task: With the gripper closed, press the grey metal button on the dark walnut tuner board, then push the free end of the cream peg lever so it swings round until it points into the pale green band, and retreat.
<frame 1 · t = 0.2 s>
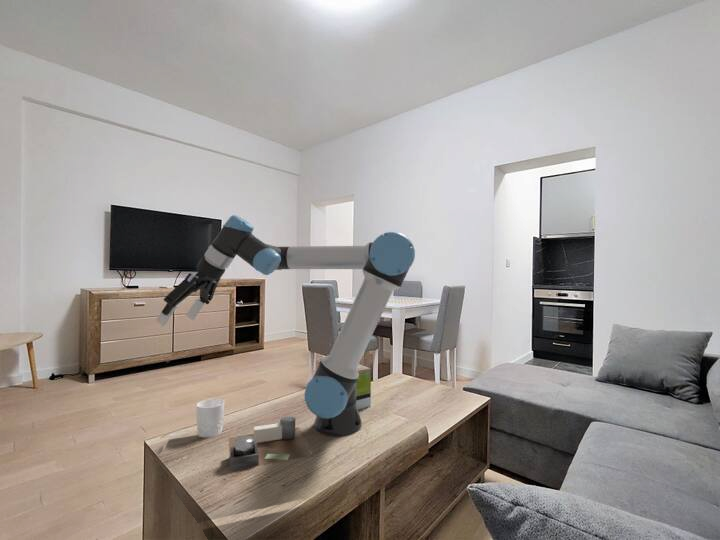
hand: (175, 320, 102), 35 cm above the table, tool tilted 35°, fingers open, 13 cm apart
tuner board: (268, 450, 95), on the table
white cup: (210, 436, 103), on the table
peg lever: (275, 429, 99), point 4 cm above the table, hinge at 0.0°
tea box: (349, 404, 131), on the table
button: (244, 445, 87), point 5 cm above the table, slide at 0.0 cm
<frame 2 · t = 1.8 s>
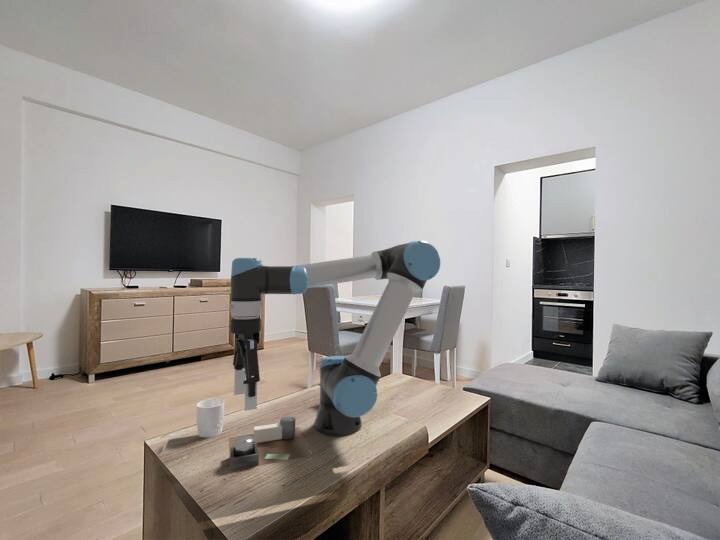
hand: (244, 401, 87), 16 cm above the table, tool pointing down, fingers open, 12 cm apart
nothing on the table moved.
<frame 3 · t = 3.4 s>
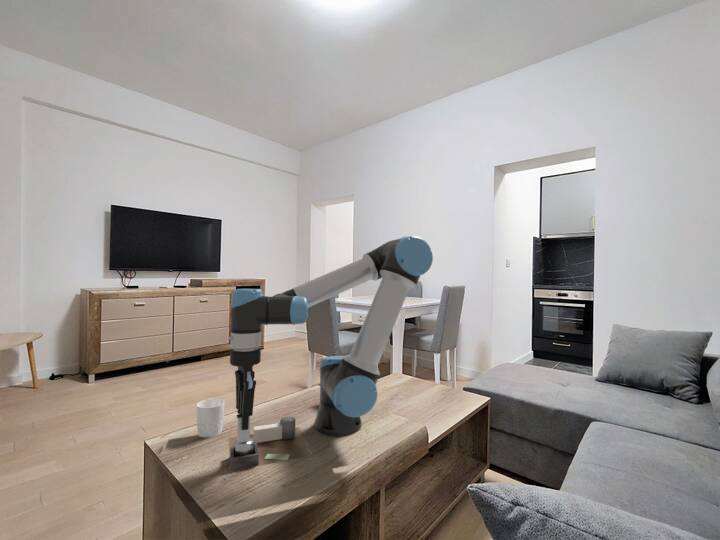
hand: (243, 440, 87), 6 cm above the table, tool pointing down, fingers closed
button: (244, 447, 87), point 5 cm above the table, slide at 0.5 cm, touching gripper
everything else where it was.
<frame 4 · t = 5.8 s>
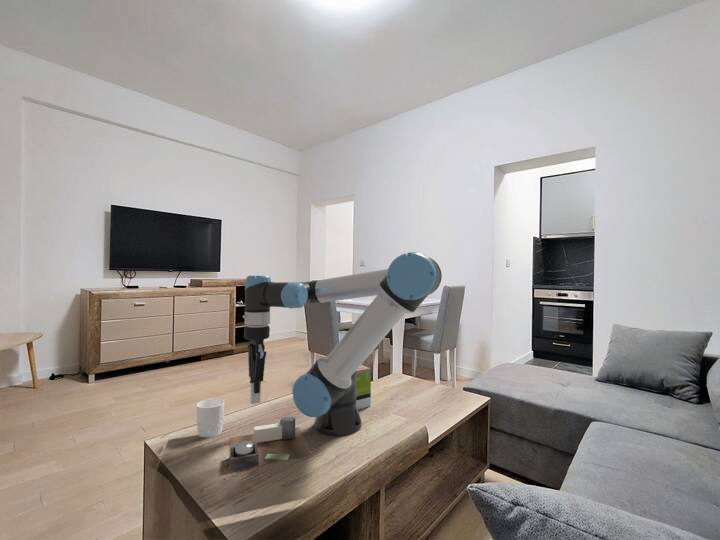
hand: (255, 402, 104), 10 cm above the table, tool pointing down, fingers closed
button: (244, 450, 87), point 4 cm above the table, slide at 1.3 cm
everything else where it was.
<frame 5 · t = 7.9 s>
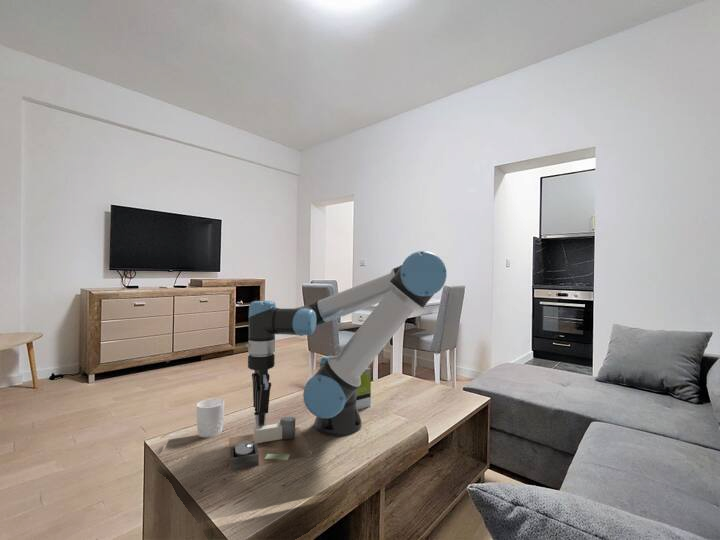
hand: (260, 435, 99), 2 cm above the table, tool pointing down, fingers closed
peg lever: (275, 429, 98), point 4 cm above the table, hinge at 2.0°, touching gripper
everything else where it was.
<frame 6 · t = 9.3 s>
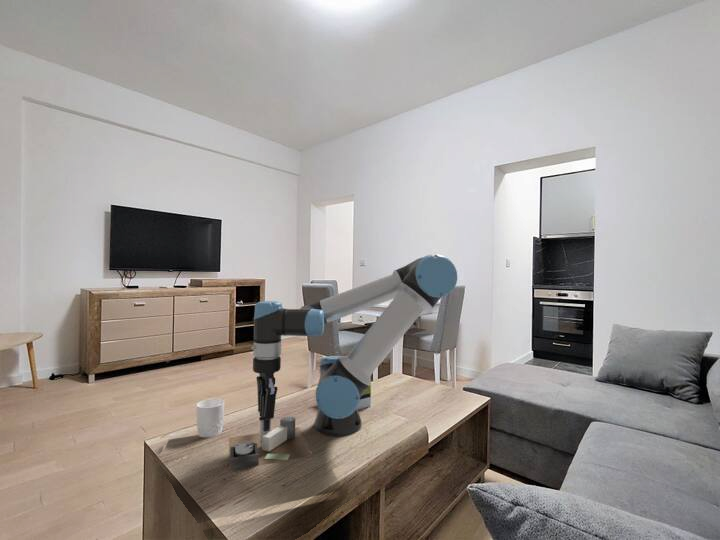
hand: (265, 441, 95), 3 cm above the table, tool pointing down, fingers closed
peg lever: (279, 432, 97), point 4 cm above the table, hinge at 43.3°, touching gripper
everything else where it was.
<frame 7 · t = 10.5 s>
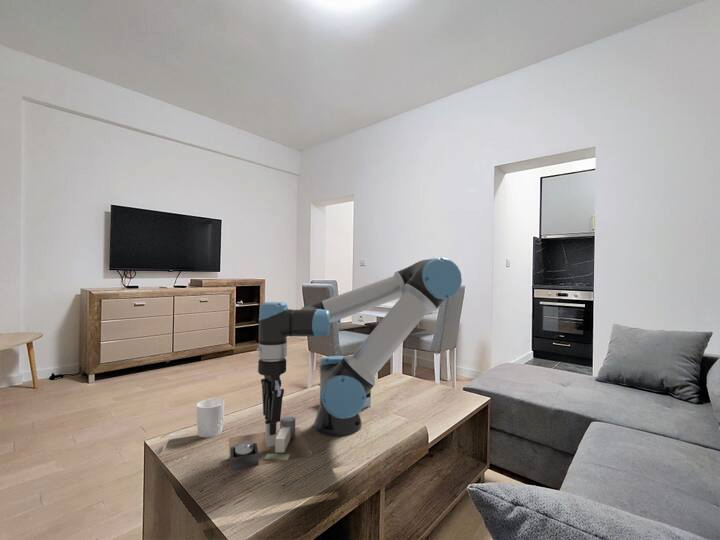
hand: (270, 444, 93), 3 cm above the table, tool pointing down, fingers closed
peg lever: (284, 433, 96), point 4 cm above the table, hinge at 68.4°
everything else where it was.
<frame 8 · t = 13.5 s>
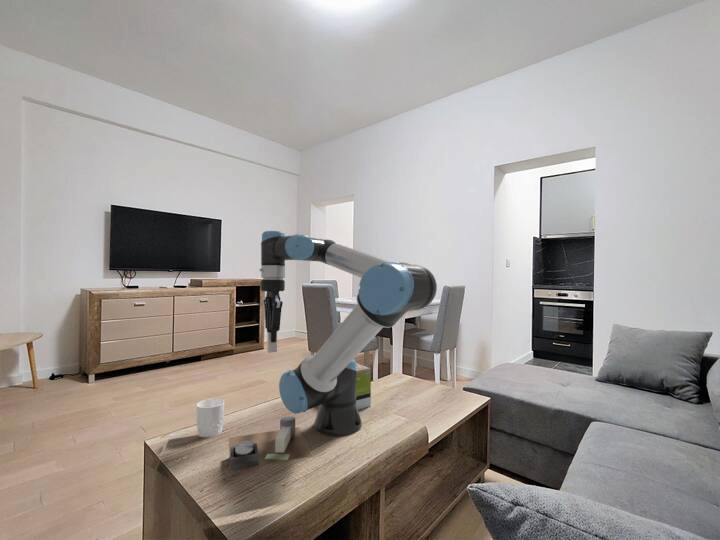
hand: (272, 351, 109), 24 cm above the table, tool pointing down, fingers closed
nothing on the table moved.
at the end: peg lever at +68° (first picture: +0°); button slide at 1.3 cm; peg lever touching nothing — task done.
